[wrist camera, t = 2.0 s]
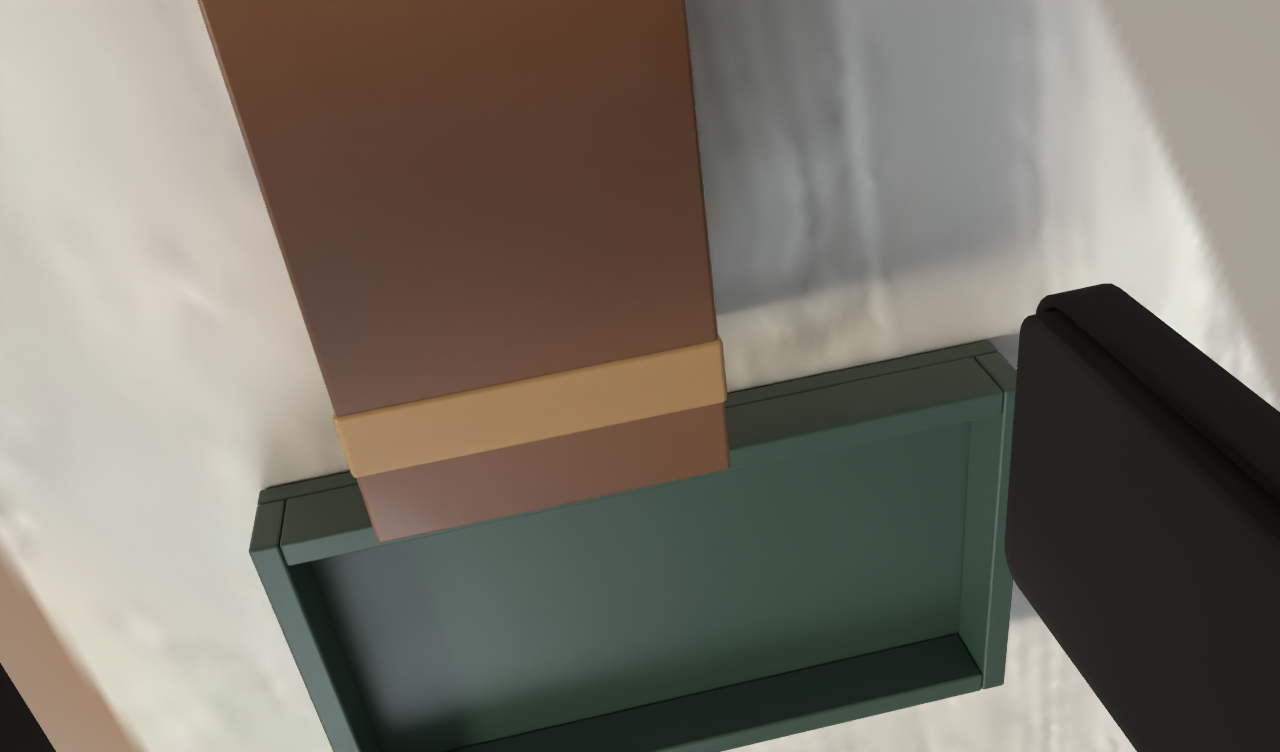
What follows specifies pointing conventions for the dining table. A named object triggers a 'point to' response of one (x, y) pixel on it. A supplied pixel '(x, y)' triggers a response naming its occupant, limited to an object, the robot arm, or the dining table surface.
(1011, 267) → the dining table surface
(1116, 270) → the dining table surface
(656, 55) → the walnut box
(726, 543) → the tray
